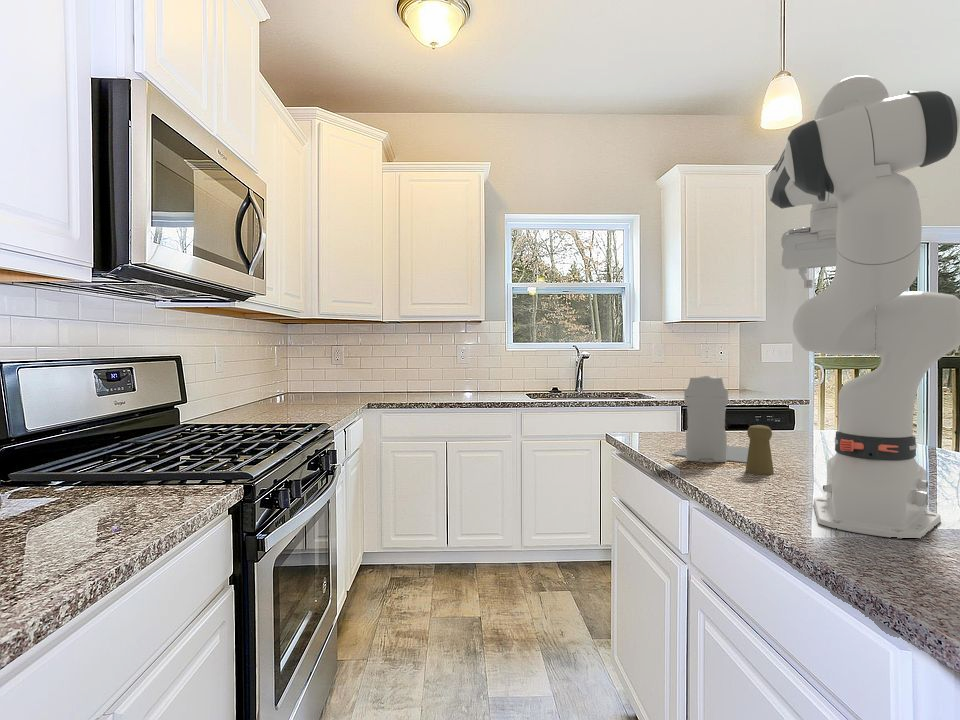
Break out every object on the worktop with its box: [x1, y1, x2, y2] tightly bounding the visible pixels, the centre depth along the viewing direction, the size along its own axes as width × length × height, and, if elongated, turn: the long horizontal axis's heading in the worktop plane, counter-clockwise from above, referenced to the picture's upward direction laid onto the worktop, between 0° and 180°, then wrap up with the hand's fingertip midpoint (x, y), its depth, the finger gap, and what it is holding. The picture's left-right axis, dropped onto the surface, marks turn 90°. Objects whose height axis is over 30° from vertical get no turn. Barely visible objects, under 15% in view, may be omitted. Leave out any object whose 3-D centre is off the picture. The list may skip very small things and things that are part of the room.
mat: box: [671, 445, 749, 464], centre depth 164 cm, size 22×20×1 cm
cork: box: [745, 424, 775, 476], centre depth 140 cm, size 6×6×11 cm
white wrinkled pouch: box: [683, 375, 729, 464], centre depth 153 cm, size 11×4×22 cm, turn 75°
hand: (832, 286), depth 134 cm, fingers open, 8 cm apart
